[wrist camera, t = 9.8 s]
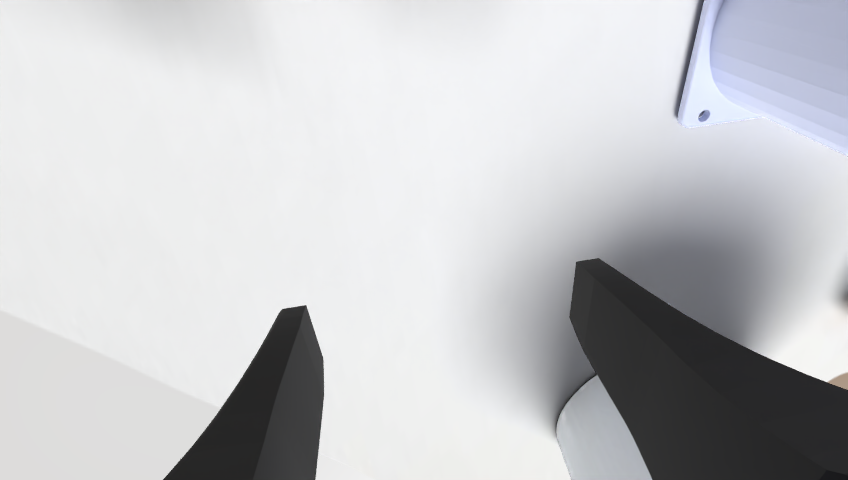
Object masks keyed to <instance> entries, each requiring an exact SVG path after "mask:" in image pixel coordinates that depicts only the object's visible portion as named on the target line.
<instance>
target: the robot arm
mask: <svg viewBox="0 0 848 480" xmlns="http://www.w3.org/2000/svg"><path fill="white" fill-rule="evenodd" d="M702 111H704V114H703V115H702V116H701V117H700V118H698V117H699V115H700V113H701V112H702ZM756 118H766V119H768V120H770V121H772V122H774V123H776V124H779V125H781V126H783V127H785V128H787V129H789V130H792V131H794V132H796V133H798V134H800V135H802V136H805V137H807V138H809V139H811V140H813V141H815V142H817V143H820V144H822V145H824V146H826V147H828V148H830V149H833V150H835V151H837V152H839V153H841V154H843V155H846V156H848V0H704V3H703V8H702V12H701V16H700V21H699V25H698V29H697V34H696V38H695V43H694V47H693V51H692V56H691V60H690V64H689V69H688V73H687V78H686V82H685V86H684V91H683V95H682V99H681V104H680V108H679V112H678V122H679V124H681V125H682V126H684V127H685V128H694V127H701V126H707V125H714V124H721V123H728V122H735V121H742V120H749V119H756ZM570 320H571V322H572V325H573V327H574V330H575V332H576V335H577V337H578V339H579V342H580V344H581V346H582V349H583V351H584V353H585V354H586V356H587V358H588V360H589V361H590V363H591V365H592V367H593V368H594V370H595V372H596V374H597V375H598V377H599V379H600V381H601V382H602V384H603V386H604V387H605V389H606V391H607V393H608V394H609V396H610V398H611V399H612V401H613V403H614V405H615V406H616V408H617V410H618V411H619V413H620V415H621V416H622V418H623V420H624V422H625V423H626V425H627V427H628V429H629V431H630V433H631V435H632V437H633V439H634V441H635V443H636V445H637V447H638V449H639V452H640V454H641V456H642V458H643V460H644V462H645V465H646V467H647V469H648V471H649V473H650V476H651V478H652V480H848V390H846V389H843V388H841V387H838V386H835V385H832V384H829V383H827V382H824V381H822V380H819V379H817V378H814V377H812V376H809V375H806V374H804V373H802V372H799V371H797V370H795V369H792V368H790V367H787V366H785V365H783V364H780V363H778V362H776V361H773V360H771V359H769V358H767V357H765V356H762V355H760V354H758V353H756V352H754V351H752V350H750V349H748V348H746V347H744V346H742V345H740V344H738V343H736V342H734V341H732V340H730V339H728V338H726V337H724V336H722V335H720V334H718V333H716V332H714V331H712V330H711V329H709V328H707V327H705V326H704V325H702V324H700V323H698V322H697V321H695V320H693V319H691V318H690V317H688V316H686V315H685V314H683V313H681V312H680V311H678V310H676V309H675V308H673V307H671V306H670V305H668V304H667V303H665V302H664V301H662V300H660V299H659V298H657V297H656V296H654V295H653V294H651V293H650V292H648V291H647V290H645V289H644V288H642V287H641V286H639V285H638V284H636V283H635V282H633V281H632V280H630V279H629V278H627V277H626V276H624V275H623V274H621V273H620V272H619V271H617V270H616V269H614V268H613V267H611V266H610V265H608V264H607V263H605V262H603V261H602V260H600V259H599V258H597V259H591V260H585V261H579V262H576V269H575V277H574V285H573V293H572V301H571V310H570ZM323 400H324V368H323V356H322V353H321V350H320V347H319V344H318V341H317V338H316V335H315V332H314V328H313V325H312V322H311V319H310V316H309V313H308V310H307V307H306V305H305V306H299V307H292V308H286V309H282V310H281V311H280V313H279V314H278V316H277V318H276V320H275V322H274V324H273V325H272V327H271V329H270V331H269V333H268V335H267V336H266V338H265V340H264V342H263V343H262V345H261V347H260V349H259V350H258V352H257V354H256V356H255V357H254V359H253V360H252V362H251V364H250V365H249V367H248V369H247V370H246V372H245V374H244V375H243V377H242V378H241V380H240V381H239V383H238V384H237V386H236V387H235V389H234V390H233V392H232V393H231V395H230V396H229V398H228V399H227V401H226V402H225V403H224V405H223V406H222V408H221V409H220V411H219V412H218V413H217V415H216V416H215V418H214V419H213V420H212V422H211V423H210V424H209V426H208V427H207V428H206V430H205V431H204V432H203V433H202V435H201V436H200V437H199V438H198V440H197V441H196V442H195V443H194V445H193V446H192V447H191V448H190V450H189V451H188V452H187V453H186V454H185V455H184V457H183V458H182V459H181V460H180V461H179V462H178V464H177V465H176V466H175V467H174V468H173V469H172V470H171V471H170V473H169V474H168V475H167V476H166V477H165V478H164V479H163V480H315V477H316V468H317V458H318V449H319V439H320V430H321V420H322V410H323Z"/></svg>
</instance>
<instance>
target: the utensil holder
mask: <svg viewBox="0 0 848 480" xmlns="http://www.w3.org/2000/svg"><path fill="white" fill-rule="evenodd" d="M556 433H557V439H558V442H559V446H560V449H561V452H562V455H563V458H564V460H565V463H566V466H567V468H568V471H569V474H570V477H571V480H652V478H651V476H650V473H649V471H648V469H647V467H646V465H645V462H644V460H643V458H642V456H641V454H640V452H639V449H638V447H637V445H636V443H635V441H634V439H633V437H632V435H631V433H630V431H629V429H628V427H627V425H626V423H625V422H624V420H623V418H622V416H621V415H620V413H619V411H618V410H617V408H616V406H615V405H614V403H613V401H612V399H611V398H610V396H609V394H608V393H607V391H606V389H605V387H604V386H603V384H602V382H601V381H600V379H599V377H598V375H596V376H595V377H593V378H592V379H591V380H589V381H588V382H587V383H586V384H584V385H583V386H582V387H581V388H580V389H579V390H578V391H577V392H576V393H575V394H574V395H573V396H572V397H571V399H570V400H569V401H568V402H567V404H566V405H565V407H564V408H563V410H562V412H561V414H560V416H559V419H558V423H557V429H556Z"/></svg>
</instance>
